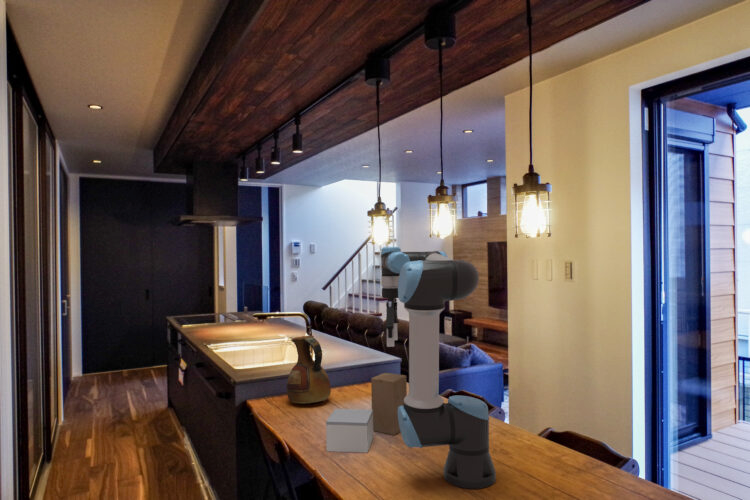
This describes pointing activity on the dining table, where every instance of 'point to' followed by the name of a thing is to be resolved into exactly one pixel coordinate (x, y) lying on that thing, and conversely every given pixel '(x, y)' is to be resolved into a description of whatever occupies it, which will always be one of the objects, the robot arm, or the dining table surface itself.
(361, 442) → the base brick
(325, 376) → the ceramic pitcher
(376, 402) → the wooden block
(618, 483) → the dining table surface
